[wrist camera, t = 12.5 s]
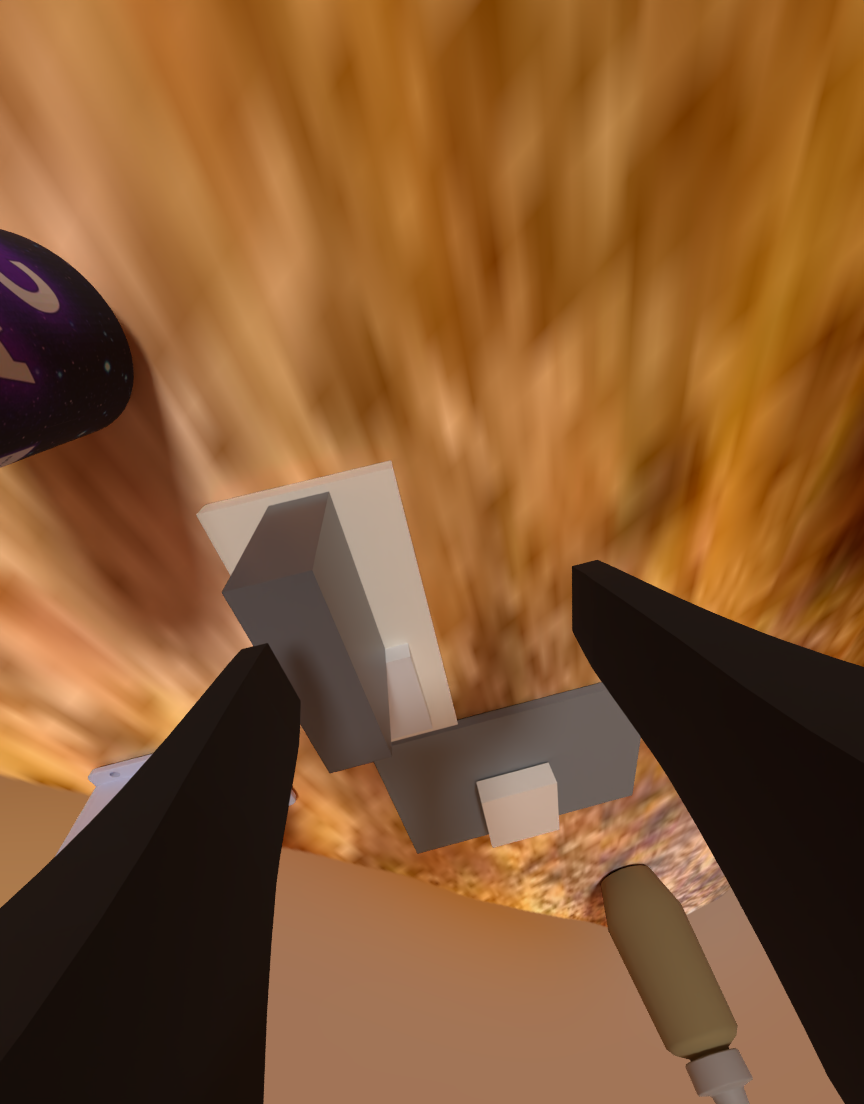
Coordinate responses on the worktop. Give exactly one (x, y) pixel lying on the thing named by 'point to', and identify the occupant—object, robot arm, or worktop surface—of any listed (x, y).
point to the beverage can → (55, 353)
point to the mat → (510, 762)
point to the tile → (520, 804)
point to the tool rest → (358, 562)
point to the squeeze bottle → (675, 981)
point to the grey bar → (325, 634)
